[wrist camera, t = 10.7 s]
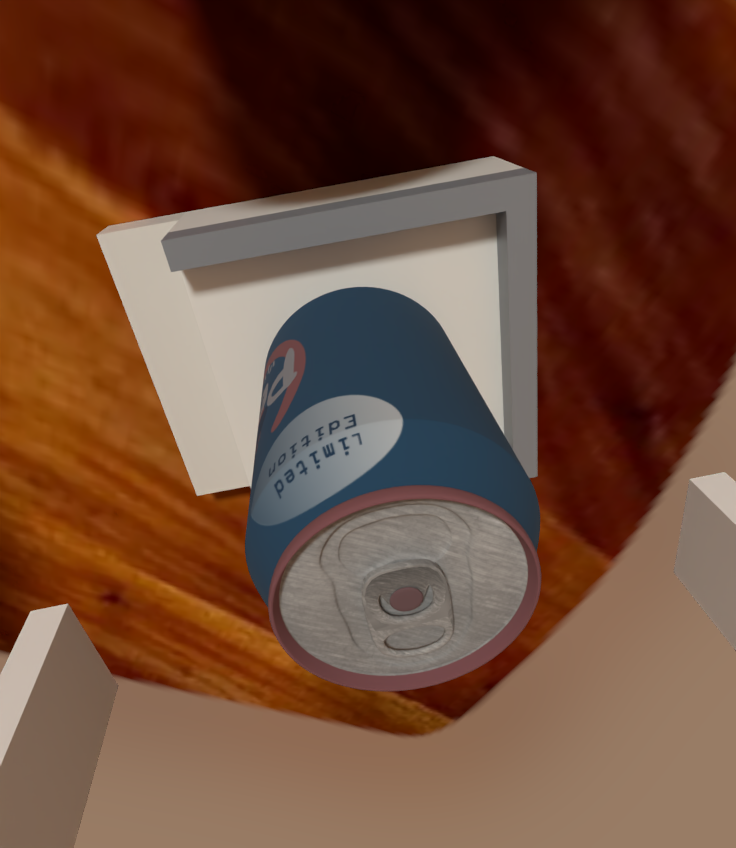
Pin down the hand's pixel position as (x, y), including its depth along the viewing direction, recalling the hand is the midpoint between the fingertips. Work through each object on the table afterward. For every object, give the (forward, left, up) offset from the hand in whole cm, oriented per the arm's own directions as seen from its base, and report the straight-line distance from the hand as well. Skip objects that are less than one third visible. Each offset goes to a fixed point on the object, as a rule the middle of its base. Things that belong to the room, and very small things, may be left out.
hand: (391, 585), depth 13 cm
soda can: (0, 0, -12) cm, 12 cm away
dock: (-1, 0, -15) cm, 15 cm away
